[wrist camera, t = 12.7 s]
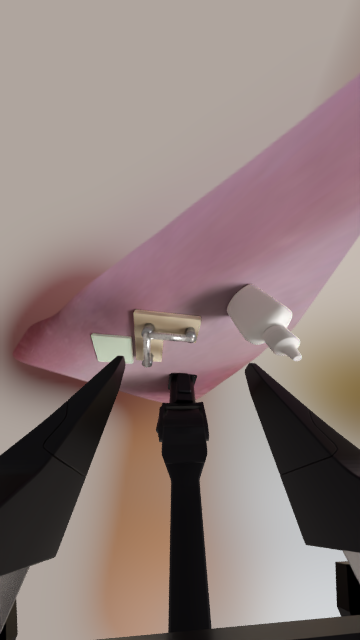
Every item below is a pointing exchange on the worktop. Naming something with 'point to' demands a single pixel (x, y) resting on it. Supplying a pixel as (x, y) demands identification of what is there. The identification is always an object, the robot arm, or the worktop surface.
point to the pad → (112, 347)
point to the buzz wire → (161, 332)
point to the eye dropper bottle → (263, 321)
